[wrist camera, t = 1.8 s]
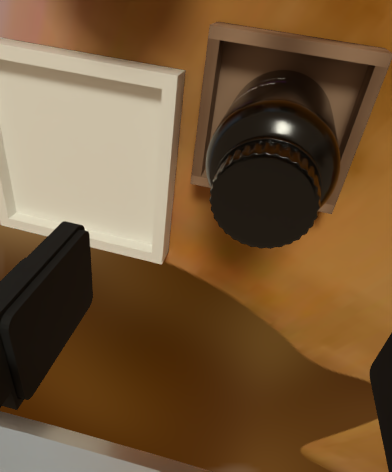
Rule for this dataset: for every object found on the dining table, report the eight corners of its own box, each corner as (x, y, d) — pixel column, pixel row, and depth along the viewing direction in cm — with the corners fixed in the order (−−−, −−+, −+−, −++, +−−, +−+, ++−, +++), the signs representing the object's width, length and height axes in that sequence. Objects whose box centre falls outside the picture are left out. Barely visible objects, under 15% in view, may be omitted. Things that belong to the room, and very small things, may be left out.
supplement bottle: (257, 48, 23) (226, 92, 14) (353, 96, 24) (389, 172, 14) (214, 143, 27) (167, 228, 18) (296, 183, 28) (294, 288, 18)
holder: (385, 48, 22) (393, 54, 20) (329, 198, 28) (331, 214, 26) (217, 21, 24) (209, 24, 22) (198, 170, 30) (190, 183, 28)
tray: (185, 70, 26) (177, 75, 24) (168, 251, 35) (161, 264, 33) (-22, 33, 28) (-42, 36, 26) (14, 214, 37) (0, 225, 35)
